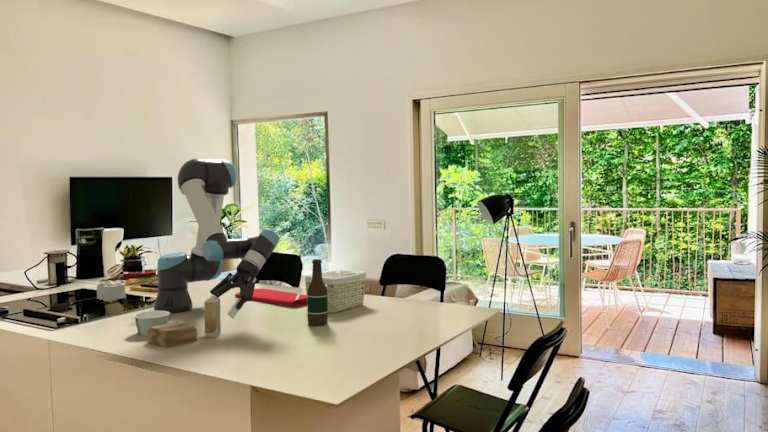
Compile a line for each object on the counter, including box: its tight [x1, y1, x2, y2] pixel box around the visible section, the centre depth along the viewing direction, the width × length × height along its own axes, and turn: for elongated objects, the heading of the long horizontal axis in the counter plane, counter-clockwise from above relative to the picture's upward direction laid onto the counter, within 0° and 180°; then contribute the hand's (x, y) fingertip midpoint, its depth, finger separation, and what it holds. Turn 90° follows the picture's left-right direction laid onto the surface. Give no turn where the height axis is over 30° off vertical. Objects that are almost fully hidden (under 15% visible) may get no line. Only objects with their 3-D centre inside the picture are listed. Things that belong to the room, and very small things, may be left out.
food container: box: [133, 310, 171, 337], centre depth 204 cm, size 12×12×6 cm
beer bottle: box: [306, 258, 329, 327], centre depth 214 cm, size 8×8×24 cm
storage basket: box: [304, 269, 367, 314], centre depth 244 cm, size 24×16×15 cm
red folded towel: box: [234, 288, 307, 308], centre depth 263 cm, size 16×41×4 cm, turn 49°
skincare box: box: [203, 297, 222, 338], centre depth 199 cm, size 6×4×12 cm
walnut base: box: [147, 321, 198, 349], centre depth 191 cm, size 11×11×5 cm
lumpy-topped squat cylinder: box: [96, 279, 127, 301], centre depth 266 cm, size 10×13×9 cm
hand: (217, 314), depth 200 cm, fingers open, 13 cm apart
